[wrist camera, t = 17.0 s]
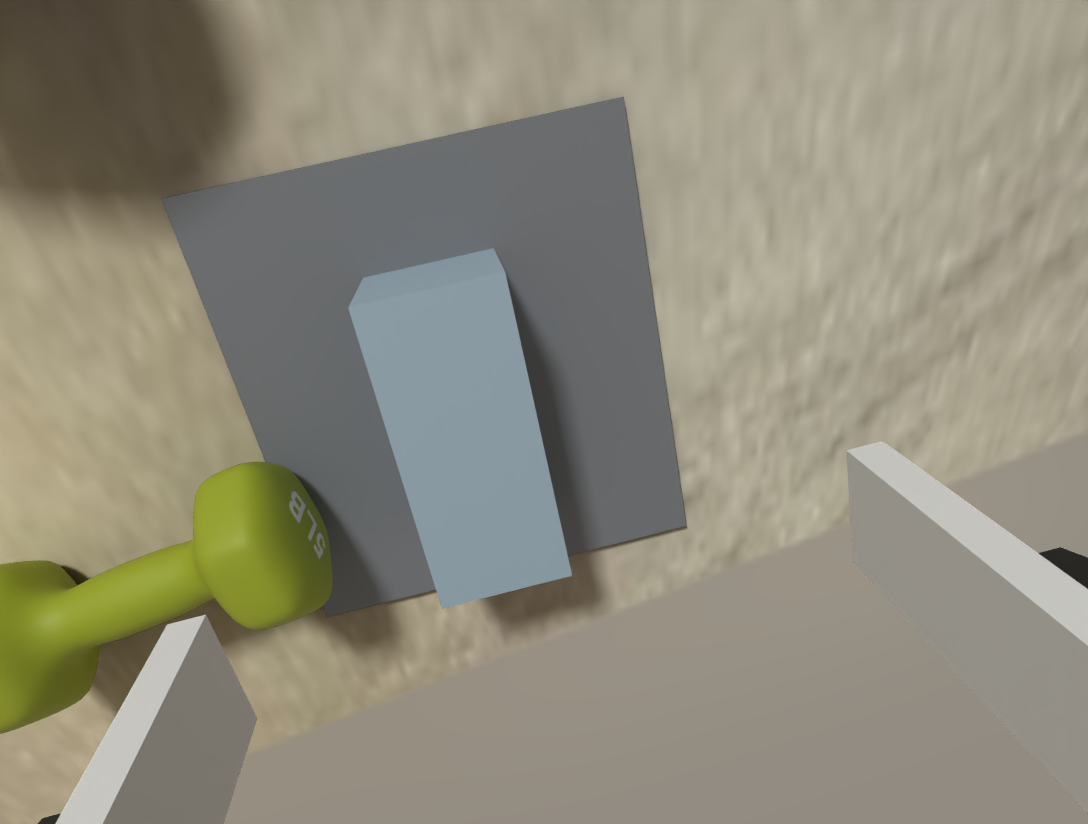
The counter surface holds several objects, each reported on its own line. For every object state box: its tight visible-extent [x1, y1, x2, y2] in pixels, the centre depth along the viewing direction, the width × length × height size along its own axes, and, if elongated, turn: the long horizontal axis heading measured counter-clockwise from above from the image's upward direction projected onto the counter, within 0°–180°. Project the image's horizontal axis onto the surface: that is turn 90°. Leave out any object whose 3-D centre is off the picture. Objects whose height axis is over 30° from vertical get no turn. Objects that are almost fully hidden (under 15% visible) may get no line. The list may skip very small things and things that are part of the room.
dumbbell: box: [0, 462, 332, 734], centre depth 33 cm, size 16×8×7 cm, turn 111°
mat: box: [162, 97, 686, 617], centre depth 35 cm, size 20×22×1 cm
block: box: [348, 248, 572, 608], centre depth 32 cm, size 6×6×14 cm
